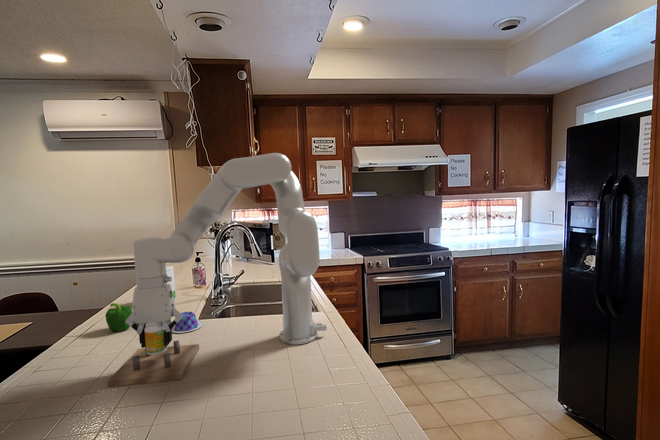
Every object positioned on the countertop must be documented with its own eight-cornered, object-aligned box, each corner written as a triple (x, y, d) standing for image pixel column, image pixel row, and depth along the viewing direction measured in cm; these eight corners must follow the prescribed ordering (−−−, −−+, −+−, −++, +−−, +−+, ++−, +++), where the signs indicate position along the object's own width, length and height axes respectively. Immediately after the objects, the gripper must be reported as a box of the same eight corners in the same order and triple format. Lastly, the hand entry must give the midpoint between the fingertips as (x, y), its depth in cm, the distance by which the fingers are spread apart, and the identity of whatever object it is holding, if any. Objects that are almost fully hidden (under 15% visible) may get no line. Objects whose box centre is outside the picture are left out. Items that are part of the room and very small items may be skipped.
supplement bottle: (158, 356, 94) (156, 321, 94) (141, 354, 95) (138, 320, 95) (171, 347, 100) (169, 314, 99) (155, 346, 101) (152, 313, 100)
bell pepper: (139, 325, 130) (136, 299, 129) (124, 334, 121) (121, 306, 121) (118, 325, 130) (116, 299, 130) (101, 334, 122) (99, 306, 121)
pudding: (191, 335, 119) (190, 320, 119) (160, 333, 122) (159, 319, 121) (210, 322, 131) (209, 308, 130) (182, 320, 133) (181, 307, 133)
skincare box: (168, 304, 153) (165, 269, 152) (153, 304, 153) (150, 270, 152) (176, 298, 161) (174, 265, 160) (162, 298, 161) (160, 266, 160)
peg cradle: (199, 348, 108) (198, 333, 108) (181, 379, 90) (180, 361, 90) (138, 353, 106) (137, 338, 105) (108, 386, 88) (106, 367, 88)
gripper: (187, 276, 101) (191, 337, 102) (125, 280, 99) (130, 341, 100) (179, 283, 93) (184, 348, 95) (112, 287, 91) (117, 353, 93)
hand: (156, 344), depth 97 cm, fingers closed on supplement bottle, 5 cm apart
